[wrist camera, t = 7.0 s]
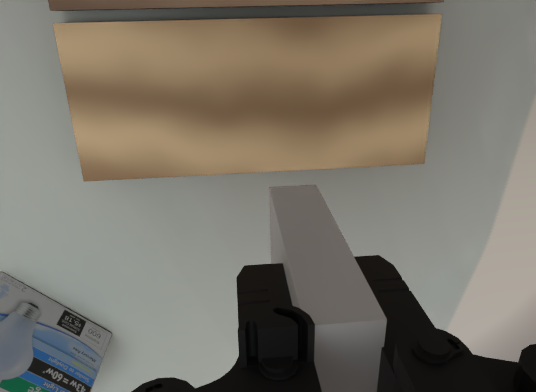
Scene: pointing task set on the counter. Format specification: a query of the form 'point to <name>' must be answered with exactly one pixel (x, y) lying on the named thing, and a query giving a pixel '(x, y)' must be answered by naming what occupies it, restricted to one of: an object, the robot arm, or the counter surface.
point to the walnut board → (204, 3)
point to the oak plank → (248, 93)
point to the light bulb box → (45, 343)
